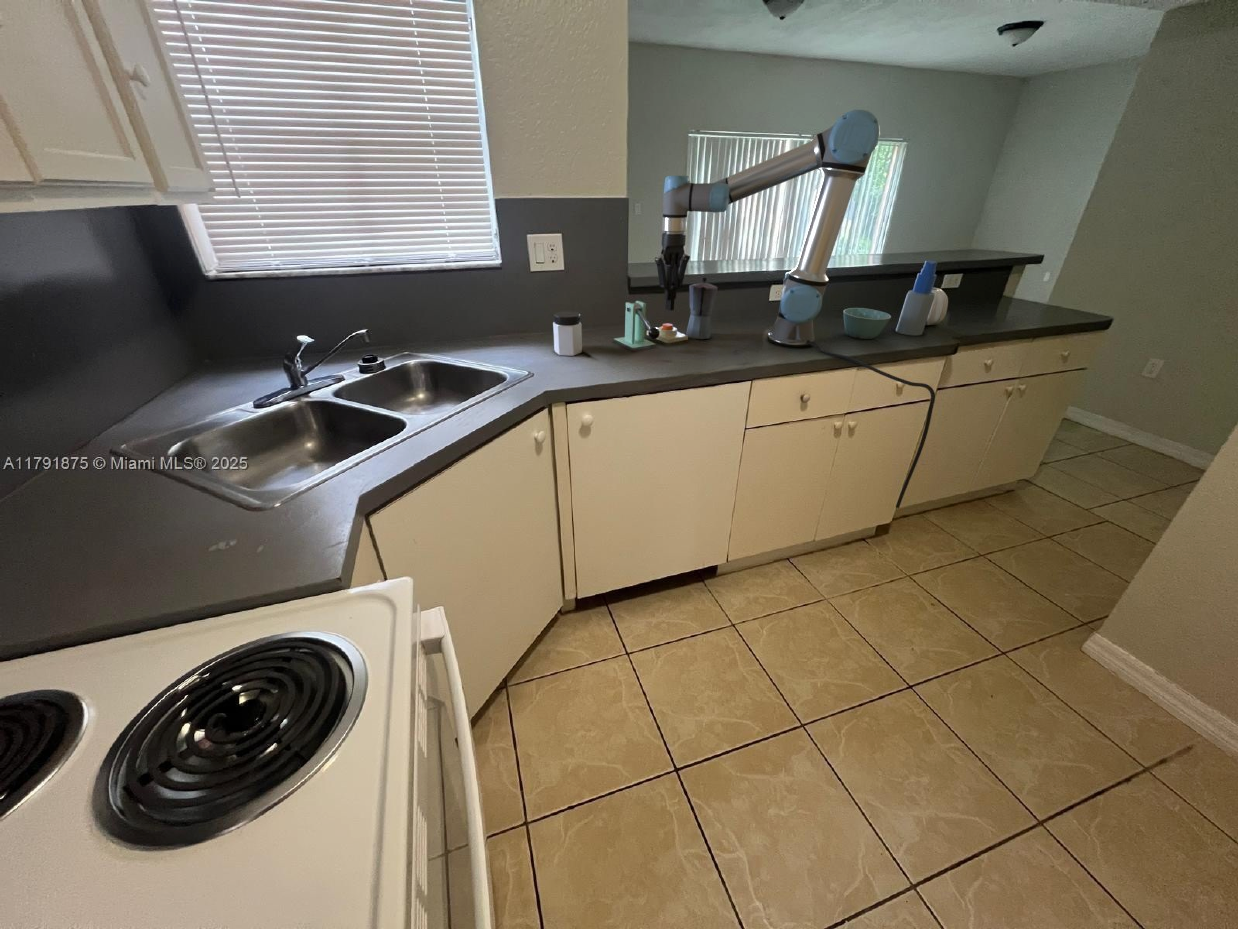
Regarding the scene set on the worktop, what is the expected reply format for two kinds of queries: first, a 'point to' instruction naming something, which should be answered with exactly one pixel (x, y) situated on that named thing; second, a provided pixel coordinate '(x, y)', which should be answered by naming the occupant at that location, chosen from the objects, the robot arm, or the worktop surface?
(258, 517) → the worktop surface
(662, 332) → the button block
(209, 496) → the worktop surface
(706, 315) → the moka pot
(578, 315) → the jar
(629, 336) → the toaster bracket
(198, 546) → the worktop surface
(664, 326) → the button
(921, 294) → the spray bottle
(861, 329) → the bowl
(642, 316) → the lever
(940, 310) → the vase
